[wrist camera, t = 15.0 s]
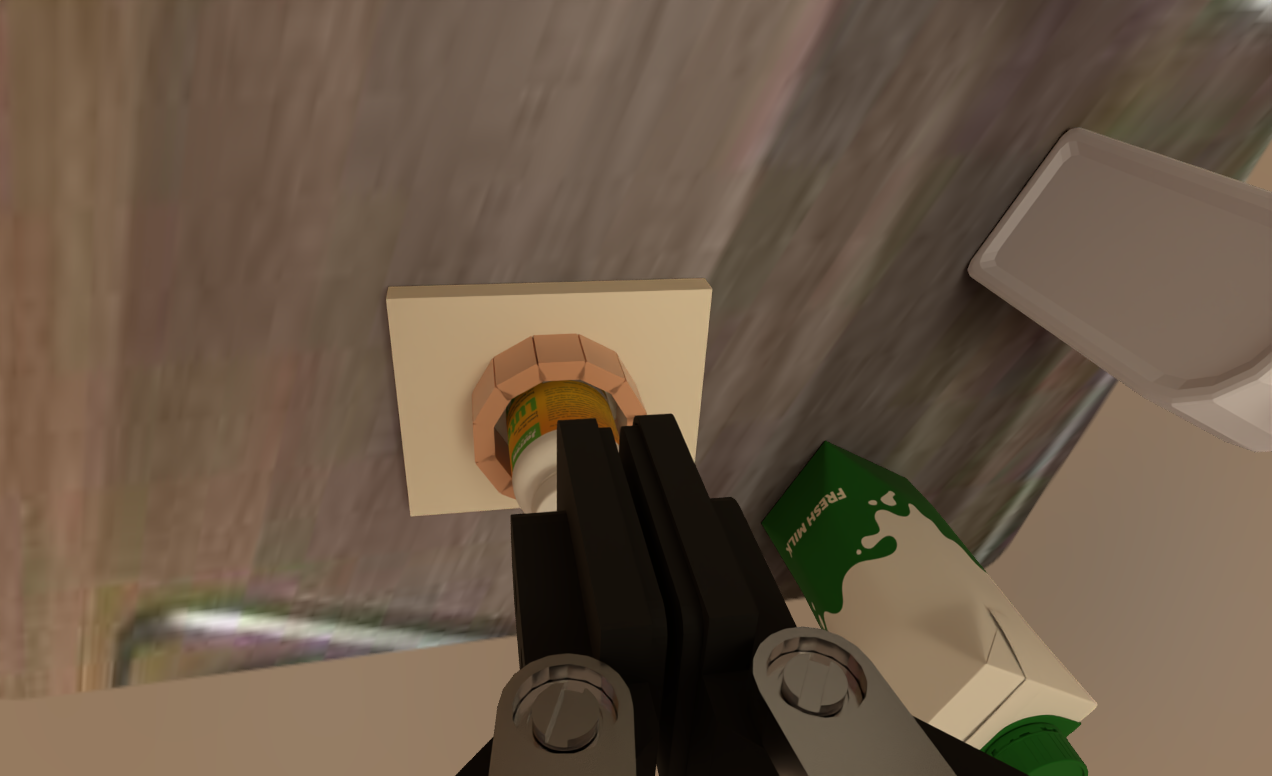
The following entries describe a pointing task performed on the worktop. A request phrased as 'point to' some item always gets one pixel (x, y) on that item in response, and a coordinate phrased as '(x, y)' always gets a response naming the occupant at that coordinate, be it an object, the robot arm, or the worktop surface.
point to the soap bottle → (1147, 277)
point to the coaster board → (504, 316)
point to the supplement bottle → (547, 435)
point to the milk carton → (925, 613)
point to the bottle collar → (528, 369)
